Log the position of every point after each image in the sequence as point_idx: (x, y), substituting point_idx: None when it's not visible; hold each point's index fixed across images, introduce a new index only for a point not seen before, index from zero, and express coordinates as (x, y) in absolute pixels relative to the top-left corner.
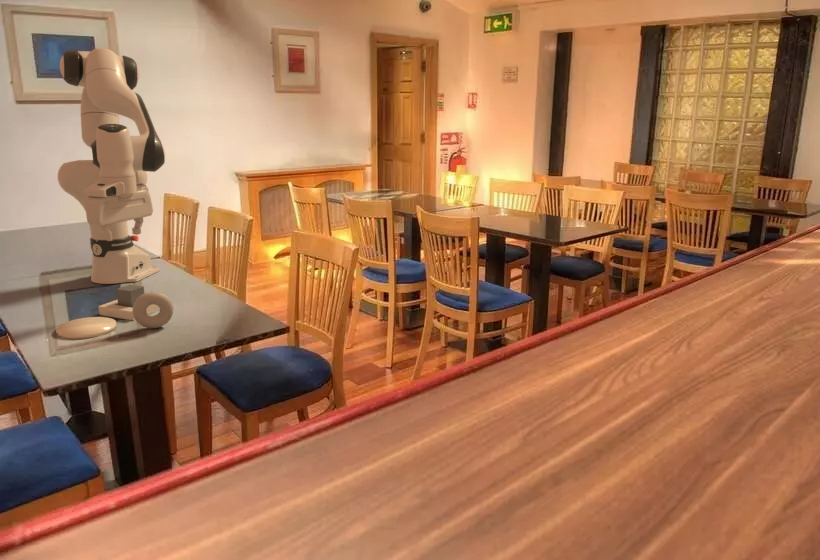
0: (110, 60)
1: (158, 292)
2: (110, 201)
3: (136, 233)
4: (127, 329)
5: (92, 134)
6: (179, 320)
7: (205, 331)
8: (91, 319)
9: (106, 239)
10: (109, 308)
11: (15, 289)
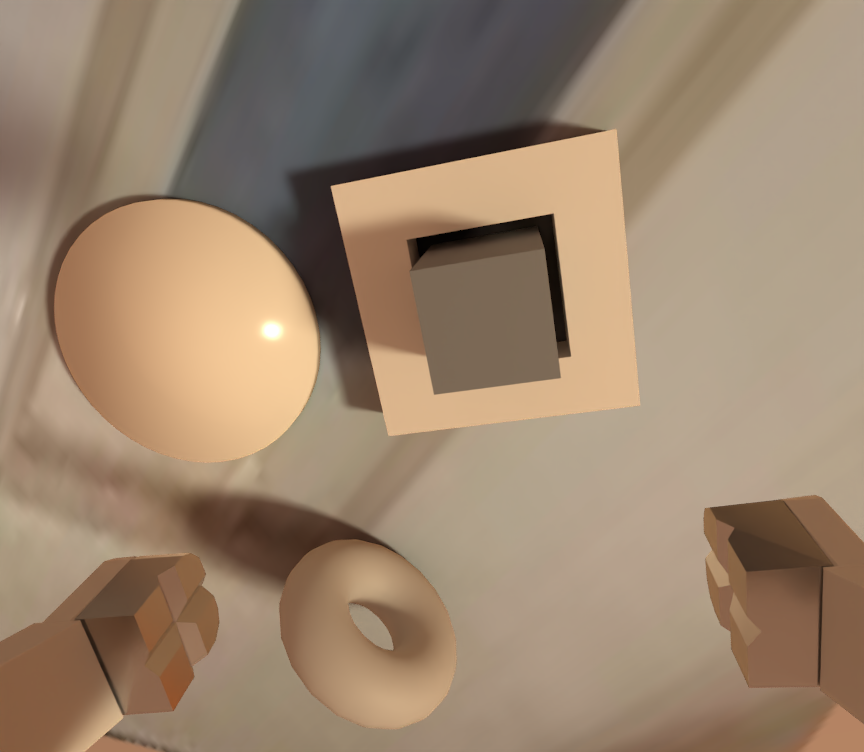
0: None
1: (378, 723)
2: None
3: (714, 590)
4: (308, 484)
5: None
6: (519, 580)
7: (479, 735)
8: (242, 276)
9: (109, 568)
10: (351, 274)
11: None
